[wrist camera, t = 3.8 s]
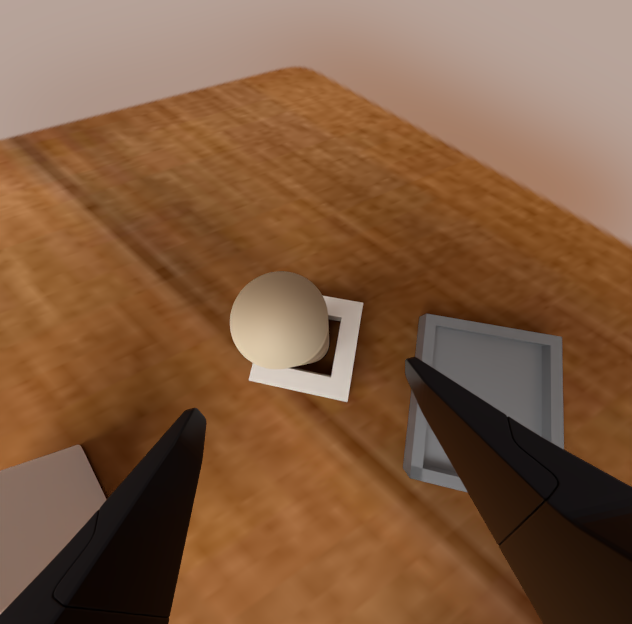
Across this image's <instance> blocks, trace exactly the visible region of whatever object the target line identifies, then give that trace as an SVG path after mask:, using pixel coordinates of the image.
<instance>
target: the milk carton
mask: <svg viewBox="0 0 632 624" xmlns="http://www.w3.org/2000/svg"><path fill="white" fill-rule="evenodd" d="M105 501H106V497H105V495H104V493H103V491H102V489H101V487H100V485H99V483H98V481H97V478H96V476H95V474H94V472H93V470H92V468H91V466H90V464H89V461H88V459H87V457H86V455H85V453H84V451H83V449H82V447H81V446H80V445H75V446H72V447H69V448H66V449H63V450H60V451H57V452H54V453H51V454H48V455H46V456H43V457H40V458H37V459H34V460H31V461H28V462H25V463H22V464H19V465H16V466H13V467H10V468H7V469H4V470H1V471H0V614H1V613H2V612H3V611H4V610H5V609H6V608H7V607H8V606H9V605H10V604H11V603H12V602H13V601H14V600H15V599H16V597H17V596H18V595H19V594H20V593H21V592H22V591H23V590H24V589H25V588H26V587H27V586H28V585H29V584H30V583H31V582H32V581H33V580H34V579H35V578H36V577H37V576H38V575H39V573H40V572H41V571H42V570H43V569H44V568H45V567H46V566H47V565H48V564H49V563H50V562H51V561H52V560H53V559H54V558H55V557H56V555H57V554H58V553H59V552H60V551H61V550H62V549H63V548H64V547H65V546H66V545H67V544H68V543H69V542H70V540H71V539H72V538H73V537H74V536H75V535H76V534H77V533H78V532H79V530H80V529H81V528H82V527H83V526H84V525H85V524H86V523H87V522H88V520H89V519H90V518H91V517H92V516H93V515H94V514H95V512H96V511H97V510H99V509H100V507H101V506H102V505H103V503H104V502H105Z"/></svg>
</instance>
